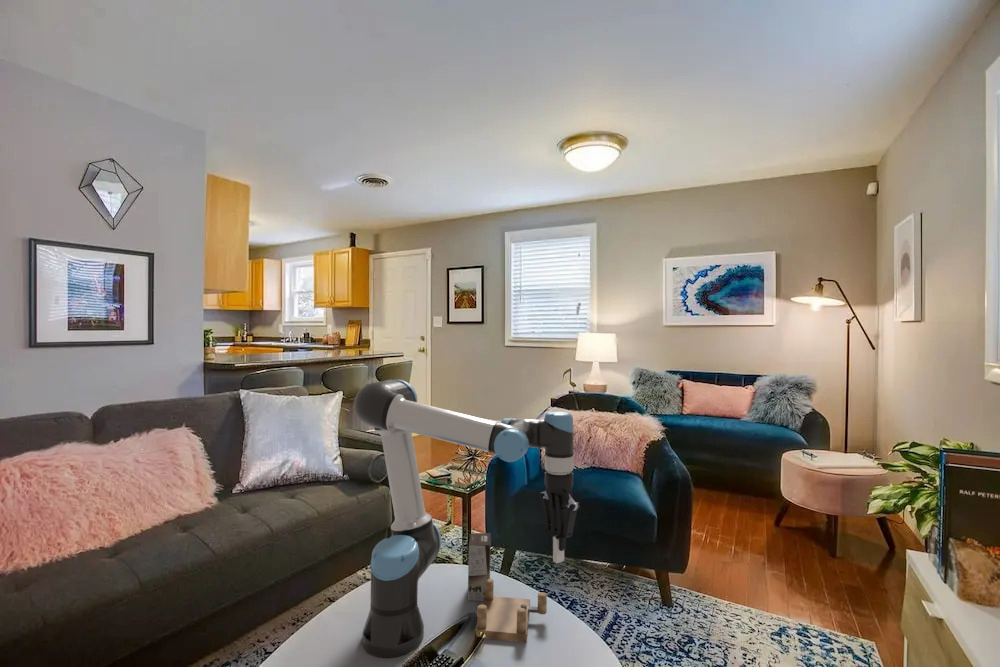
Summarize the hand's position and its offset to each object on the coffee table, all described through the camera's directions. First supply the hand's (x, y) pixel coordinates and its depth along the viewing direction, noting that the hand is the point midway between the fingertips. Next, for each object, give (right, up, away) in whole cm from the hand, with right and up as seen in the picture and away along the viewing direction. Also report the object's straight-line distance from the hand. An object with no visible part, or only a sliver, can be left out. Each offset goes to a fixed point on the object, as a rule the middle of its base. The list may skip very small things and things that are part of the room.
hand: (558, 560), depth 121 cm
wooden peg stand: (-14, -18, +3) cm, 23 cm away
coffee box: (-22, -18, +17) cm, 33 cm away
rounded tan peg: (-5, -15, +3) cm, 17 cm away
